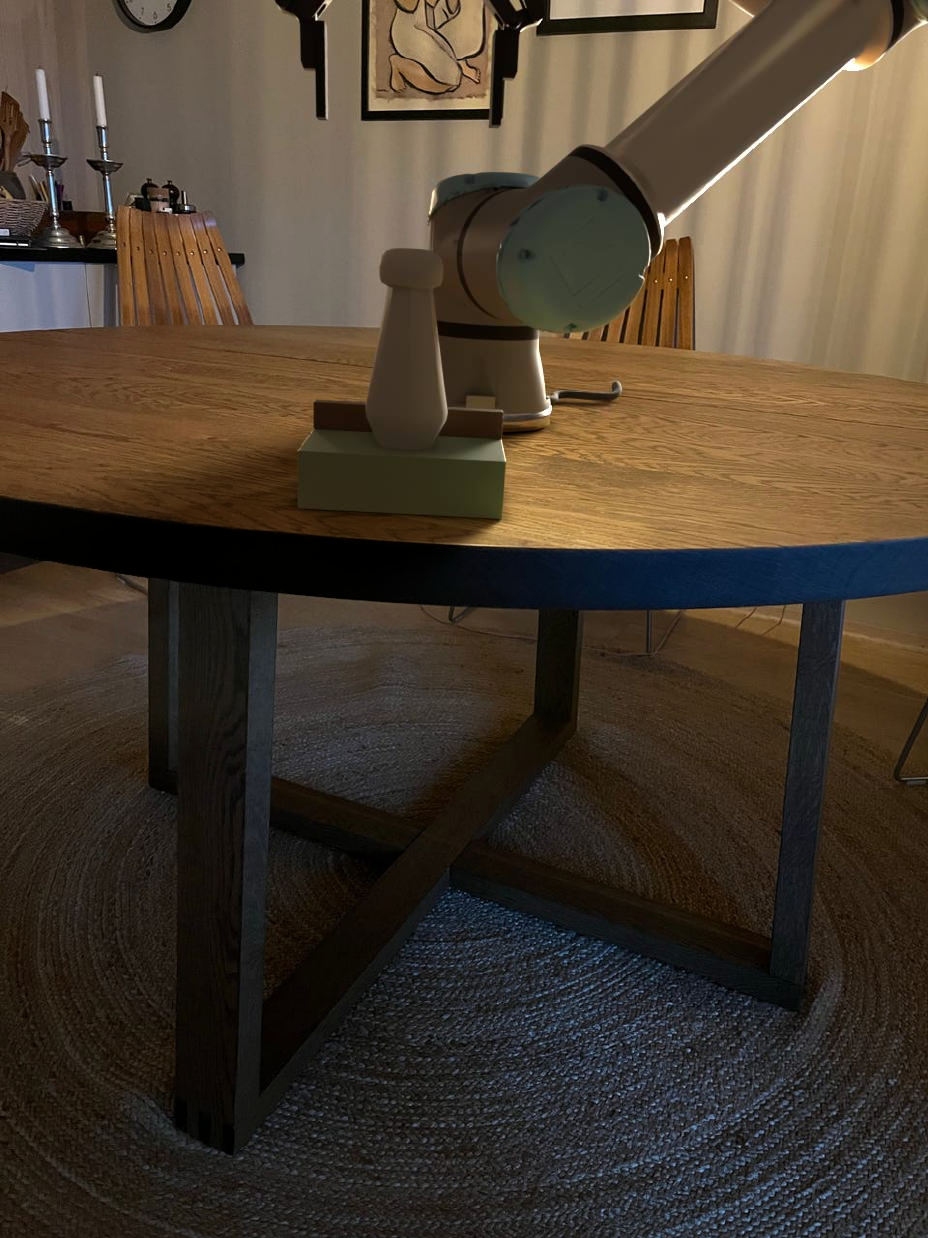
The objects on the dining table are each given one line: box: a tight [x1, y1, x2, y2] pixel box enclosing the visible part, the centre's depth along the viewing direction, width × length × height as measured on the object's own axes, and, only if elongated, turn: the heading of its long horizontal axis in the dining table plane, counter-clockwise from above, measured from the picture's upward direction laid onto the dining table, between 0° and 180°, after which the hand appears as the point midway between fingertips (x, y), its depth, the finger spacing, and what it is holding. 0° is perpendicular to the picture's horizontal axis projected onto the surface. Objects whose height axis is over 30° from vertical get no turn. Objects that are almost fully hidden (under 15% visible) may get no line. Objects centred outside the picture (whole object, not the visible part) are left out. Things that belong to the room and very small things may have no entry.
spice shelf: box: [297, 399, 507, 520], centre depth 71 cm, size 9×14×6 cm, turn 90°
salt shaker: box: [365, 247, 448, 451], centre depth 68 cm, size 6×6×13 cm
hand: (408, 123), depth 79 cm, fingers open, 13 cm apart
